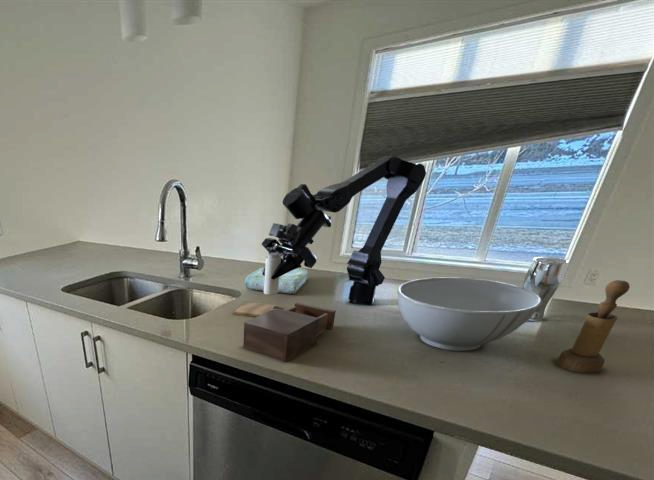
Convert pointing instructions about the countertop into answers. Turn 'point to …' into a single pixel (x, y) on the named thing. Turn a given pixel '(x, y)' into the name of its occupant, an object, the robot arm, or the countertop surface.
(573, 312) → the countertop surface
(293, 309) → the drawer
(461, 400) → the countertop surface
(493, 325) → the decorative bowl
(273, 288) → the salt mill
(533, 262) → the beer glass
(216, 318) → the countertop surface
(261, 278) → the towel
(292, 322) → the cabinet
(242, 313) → the cork mat
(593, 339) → the mortar and pestle
